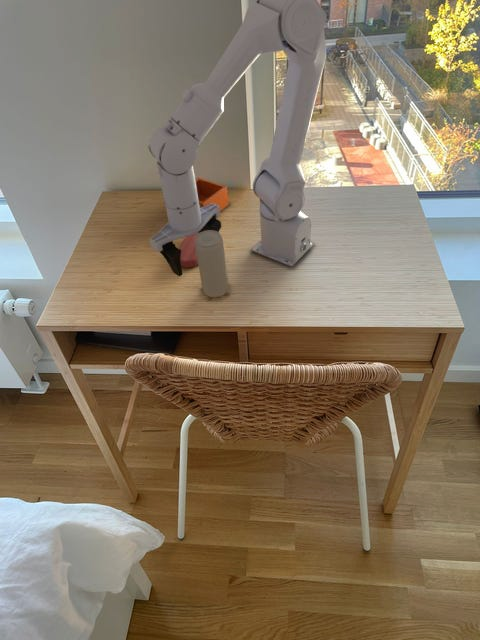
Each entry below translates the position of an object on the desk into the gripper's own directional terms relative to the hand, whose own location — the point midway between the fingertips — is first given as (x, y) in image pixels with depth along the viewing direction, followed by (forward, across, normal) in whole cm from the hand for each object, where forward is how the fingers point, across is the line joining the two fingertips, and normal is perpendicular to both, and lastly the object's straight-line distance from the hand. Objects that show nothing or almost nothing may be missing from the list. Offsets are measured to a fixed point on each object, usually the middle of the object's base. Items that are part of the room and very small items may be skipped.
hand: (193, 263), depth 92 cm
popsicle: (+4, -7, -8) cm, 11 cm away
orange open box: (+3, -17, -17) cm, 25 cm away
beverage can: (+4, 0, +6) cm, 7 cm away
